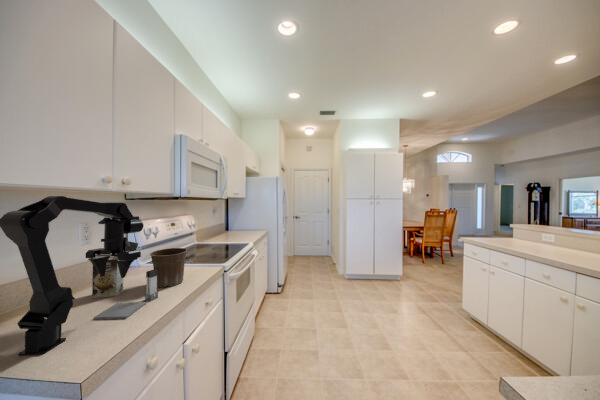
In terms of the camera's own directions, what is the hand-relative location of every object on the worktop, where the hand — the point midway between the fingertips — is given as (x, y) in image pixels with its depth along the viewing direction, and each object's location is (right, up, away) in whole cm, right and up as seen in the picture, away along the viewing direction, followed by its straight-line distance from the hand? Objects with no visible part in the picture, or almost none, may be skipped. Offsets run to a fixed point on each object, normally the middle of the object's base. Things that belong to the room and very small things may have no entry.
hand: (112, 276), depth 83 cm
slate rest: (+3, -13, 0) cm, 13 cm away
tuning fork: (+8, -13, +10) cm, 18 cm away
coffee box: (-15, -13, +15) cm, 25 cm away
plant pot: (+4, -13, +28) cm, 32 cm away
